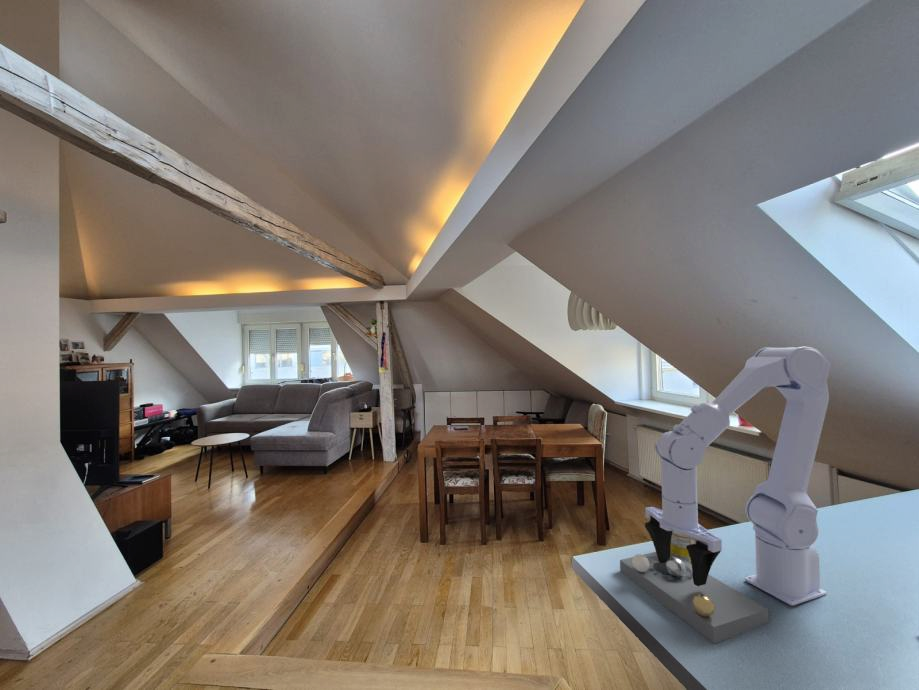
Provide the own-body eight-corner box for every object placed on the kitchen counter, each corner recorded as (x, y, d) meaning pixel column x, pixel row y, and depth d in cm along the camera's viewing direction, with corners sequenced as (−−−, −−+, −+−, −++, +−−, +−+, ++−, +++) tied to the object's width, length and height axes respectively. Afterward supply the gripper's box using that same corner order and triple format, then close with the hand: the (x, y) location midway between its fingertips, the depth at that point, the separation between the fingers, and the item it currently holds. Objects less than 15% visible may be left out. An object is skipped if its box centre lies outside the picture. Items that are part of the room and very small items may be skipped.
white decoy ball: (641, 565, 75) (640, 549, 75) (653, 573, 72) (653, 557, 72) (628, 568, 74) (628, 552, 74) (640, 576, 71) (640, 560, 71)
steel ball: (672, 555, 74) (681, 553, 71) (683, 573, 72) (692, 571, 70) (659, 561, 73) (667, 560, 71) (670, 580, 72) (678, 578, 69)
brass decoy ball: (701, 606, 63) (701, 588, 63) (719, 618, 60) (719, 599, 60) (688, 611, 62) (687, 592, 62) (705, 623, 59) (704, 603, 59)
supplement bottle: (681, 570, 77) (679, 522, 78) (663, 556, 83) (662, 512, 83) (705, 568, 78) (703, 520, 78) (686, 554, 83) (685, 510, 84)
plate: (666, 561, 81) (665, 549, 81) (768, 624, 62) (768, 609, 62) (620, 572, 77) (619, 559, 77) (714, 643, 58) (713, 627, 58)
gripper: (632, 487, 76) (634, 556, 76) (698, 517, 63) (700, 601, 62) (660, 483, 79) (661, 550, 78) (729, 511, 65) (732, 591, 65)
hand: (681, 572), depth 70 cm, fingers open, 7 cm apart
